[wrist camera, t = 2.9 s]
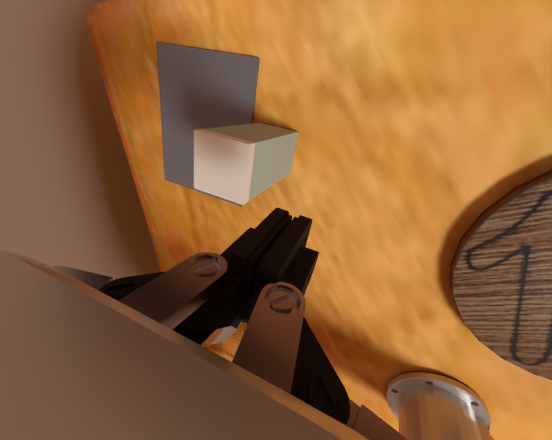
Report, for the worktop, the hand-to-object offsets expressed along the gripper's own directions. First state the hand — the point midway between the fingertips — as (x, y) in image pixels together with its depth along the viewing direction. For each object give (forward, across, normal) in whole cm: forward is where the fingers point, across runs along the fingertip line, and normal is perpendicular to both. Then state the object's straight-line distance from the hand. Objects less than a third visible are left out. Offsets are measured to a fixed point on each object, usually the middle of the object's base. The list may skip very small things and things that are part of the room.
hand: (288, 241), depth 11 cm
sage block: (+19, +8, +1) cm, 21 cm away
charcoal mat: (+19, +19, +1) cm, 27 cm away
